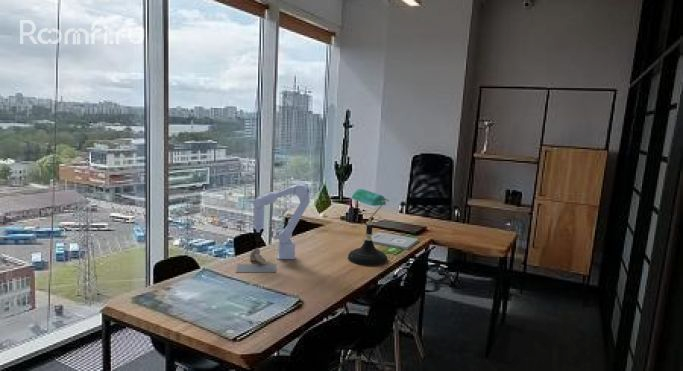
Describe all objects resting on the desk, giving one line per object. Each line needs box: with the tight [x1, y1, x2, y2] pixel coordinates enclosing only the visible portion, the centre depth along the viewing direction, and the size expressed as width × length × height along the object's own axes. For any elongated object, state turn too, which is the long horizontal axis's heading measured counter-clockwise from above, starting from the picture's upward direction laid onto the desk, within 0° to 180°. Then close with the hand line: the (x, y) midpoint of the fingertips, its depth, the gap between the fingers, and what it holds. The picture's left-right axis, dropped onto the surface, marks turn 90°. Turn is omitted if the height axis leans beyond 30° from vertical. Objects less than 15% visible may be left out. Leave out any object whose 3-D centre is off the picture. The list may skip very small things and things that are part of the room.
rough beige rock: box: [249, 247, 266, 265], centre depth 237 cm, size 6×14×7 cm, turn 29°
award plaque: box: [363, 231, 419, 251], centre depth 292 cm, size 25×30×2 cm
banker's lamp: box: [347, 188, 390, 267], centre depth 248 cm, size 26×23×40 cm
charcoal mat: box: [235, 263, 277, 274], centre depth 227 cm, size 20×12×1 cm, turn 99°
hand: (258, 241), depth 247 cm, fingers closed
